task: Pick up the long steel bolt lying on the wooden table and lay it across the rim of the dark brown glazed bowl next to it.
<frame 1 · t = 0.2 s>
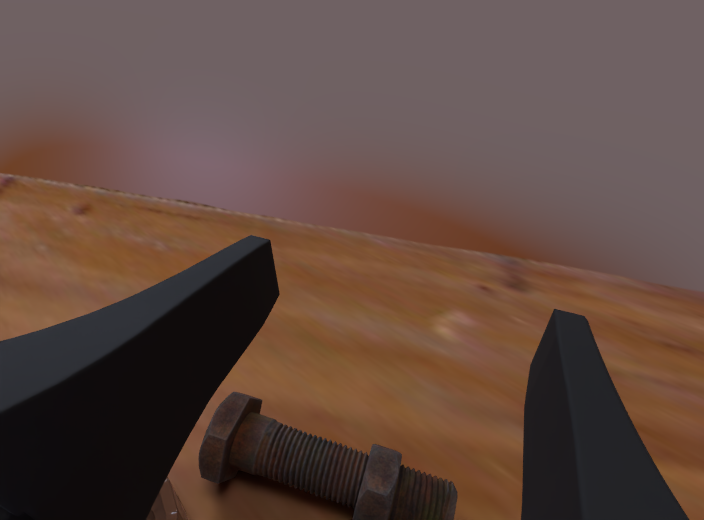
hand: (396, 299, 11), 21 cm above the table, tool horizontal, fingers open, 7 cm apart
bolt: (328, 488, 28), on the table
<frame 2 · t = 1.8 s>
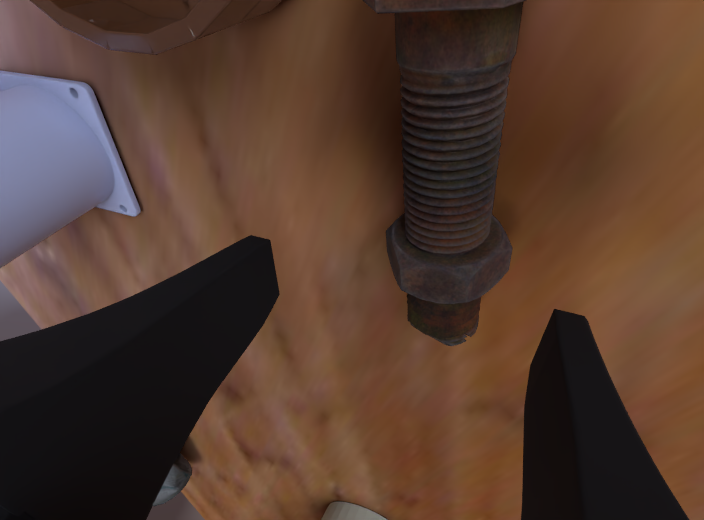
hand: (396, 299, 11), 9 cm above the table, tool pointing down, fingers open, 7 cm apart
bolt: (458, 153, 17), on the table
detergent: (133, 399, 50), on the table
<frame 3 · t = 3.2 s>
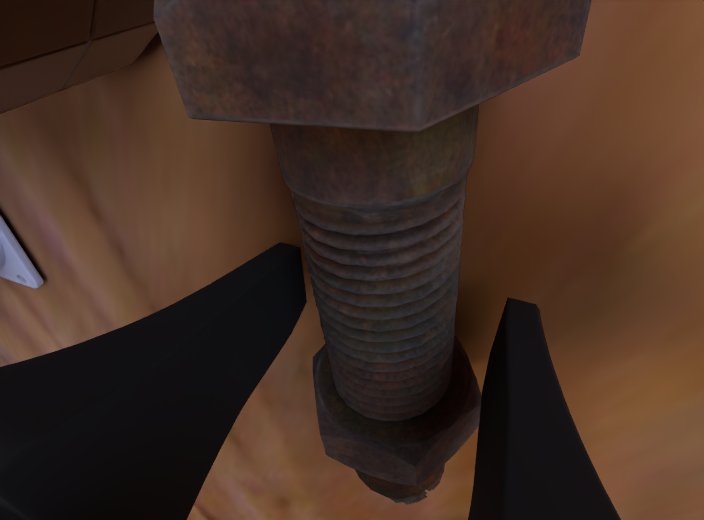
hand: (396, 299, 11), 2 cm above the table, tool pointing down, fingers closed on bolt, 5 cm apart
bolt: (410, 256, 12), on the table, touching gripper
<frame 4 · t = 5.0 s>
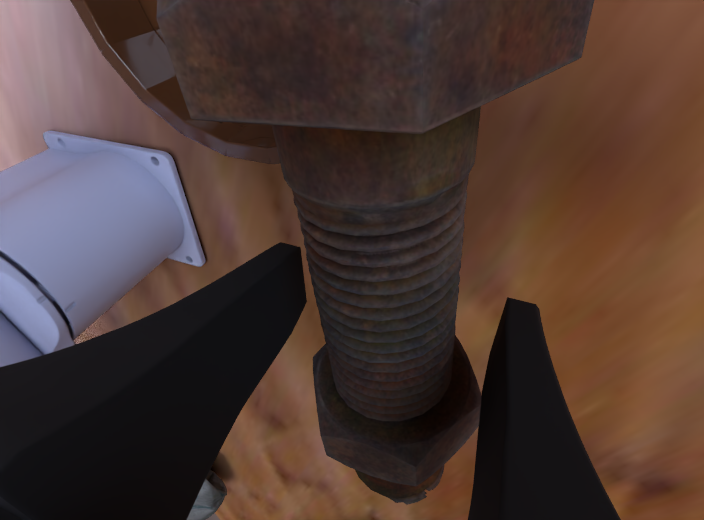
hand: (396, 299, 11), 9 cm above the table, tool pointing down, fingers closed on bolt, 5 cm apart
bolt: (410, 256, 12), point 7 cm above the table, touching gripper
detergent: (171, 422, 52), on the table
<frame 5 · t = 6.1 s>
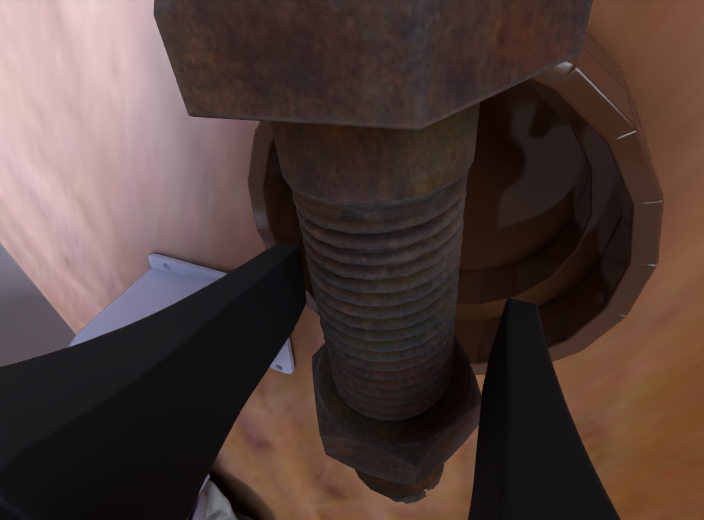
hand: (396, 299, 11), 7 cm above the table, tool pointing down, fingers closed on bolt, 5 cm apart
bolt: (410, 255, 12), point 6 cm above the table, touching gripper
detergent: (218, 476, 53), on the table
bowl: (453, 167, 16), on the table
when the fingers open (7 cm above the table, at t = 6.9 s): bolt stays where it is, resting on bowl.
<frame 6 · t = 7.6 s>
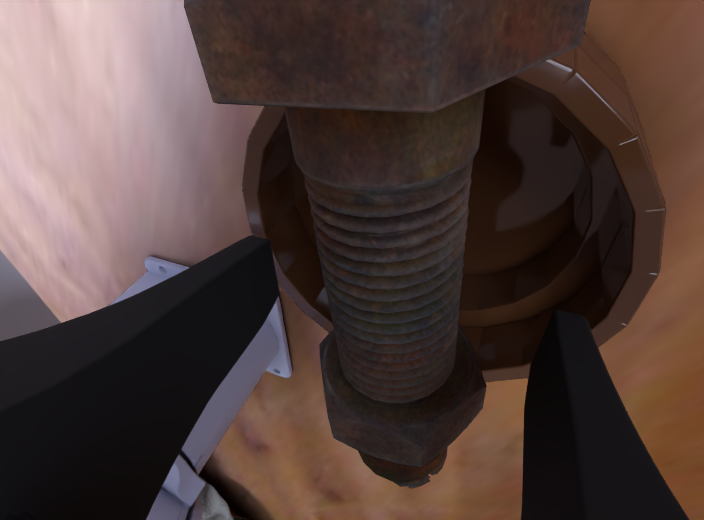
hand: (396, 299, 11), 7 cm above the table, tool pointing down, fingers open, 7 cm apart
bolt: (415, 245, 12), point 5 cm above the table, touching bowl
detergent: (217, 479, 53), on the table
bowl: (452, 172, 16), on the table
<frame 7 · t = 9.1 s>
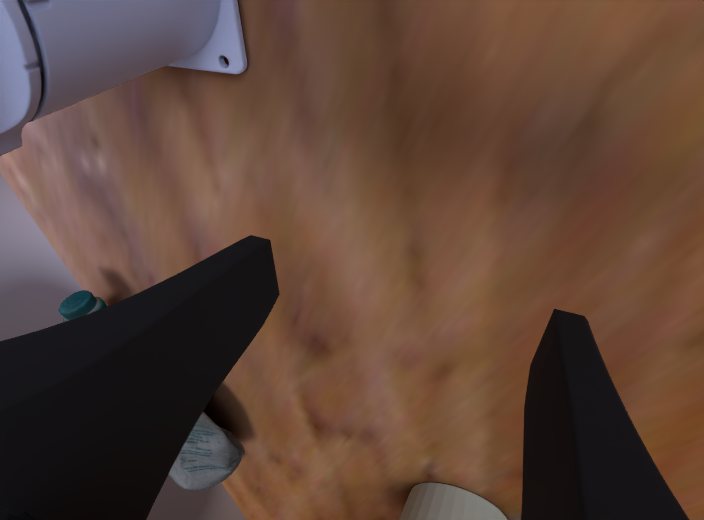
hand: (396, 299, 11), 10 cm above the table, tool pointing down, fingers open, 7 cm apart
reusable coffee cup: (458, 507, 39), on the table
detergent: (178, 365, 43), on the table
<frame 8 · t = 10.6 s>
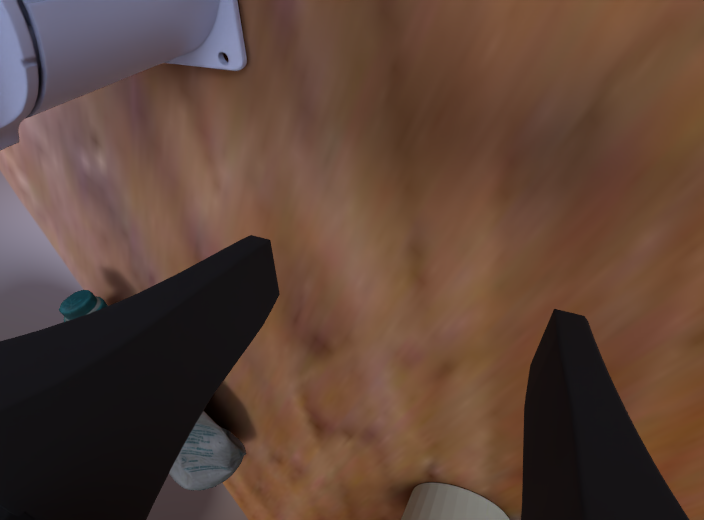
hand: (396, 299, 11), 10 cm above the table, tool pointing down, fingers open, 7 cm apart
reusable coffee cup: (460, 508, 39), on the table
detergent: (179, 365, 43), on the table
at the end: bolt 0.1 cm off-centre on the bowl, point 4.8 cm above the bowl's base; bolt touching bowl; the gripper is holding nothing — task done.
